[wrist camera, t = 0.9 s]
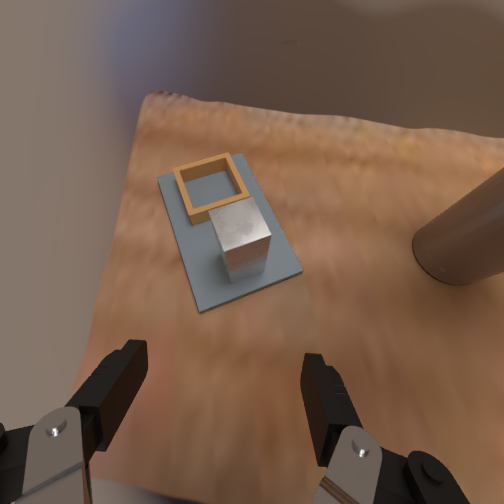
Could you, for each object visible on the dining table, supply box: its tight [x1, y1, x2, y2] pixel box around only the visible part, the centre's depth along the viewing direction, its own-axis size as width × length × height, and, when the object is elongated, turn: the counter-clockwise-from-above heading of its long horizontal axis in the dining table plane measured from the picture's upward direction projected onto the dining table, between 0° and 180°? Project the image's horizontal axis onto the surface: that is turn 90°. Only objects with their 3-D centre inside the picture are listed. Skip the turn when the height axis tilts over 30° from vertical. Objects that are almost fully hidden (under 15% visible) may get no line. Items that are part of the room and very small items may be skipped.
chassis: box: [157, 152, 303, 313], centre depth 33 cm, size 14×22×4 cm, turn 22°
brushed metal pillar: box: [208, 197, 271, 284], centre depth 26 cm, size 4×4×10 cm
